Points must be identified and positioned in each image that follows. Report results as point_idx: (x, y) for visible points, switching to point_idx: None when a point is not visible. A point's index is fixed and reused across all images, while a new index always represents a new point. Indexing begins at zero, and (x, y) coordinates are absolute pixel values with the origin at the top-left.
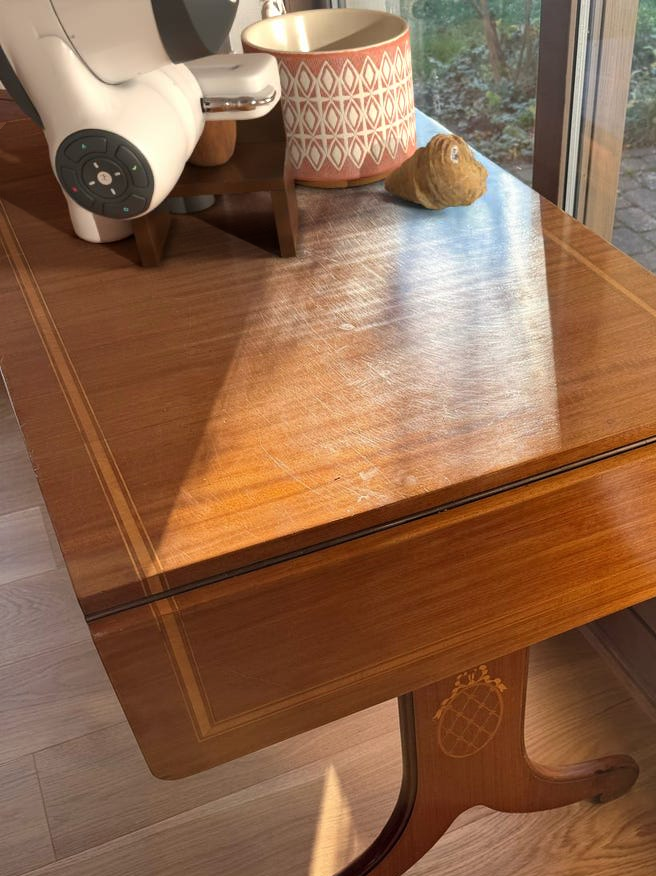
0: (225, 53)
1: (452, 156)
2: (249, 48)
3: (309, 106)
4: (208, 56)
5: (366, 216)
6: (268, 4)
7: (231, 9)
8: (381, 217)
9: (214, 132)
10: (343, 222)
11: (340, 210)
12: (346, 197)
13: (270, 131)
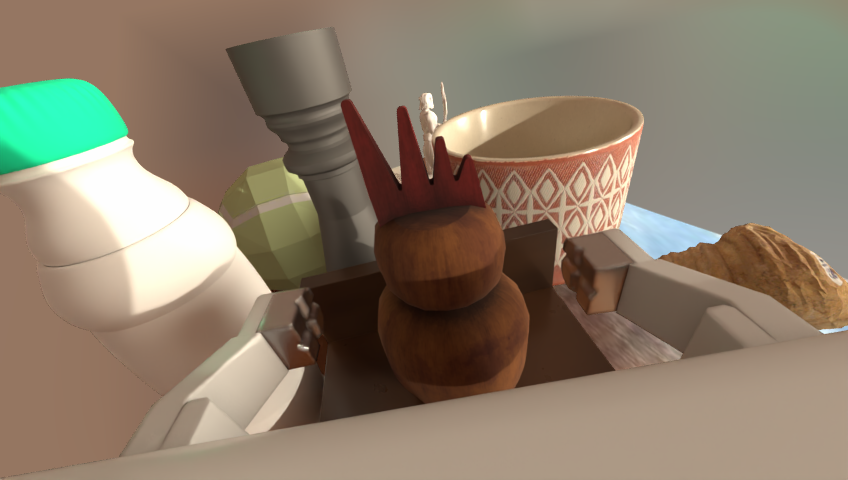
0: (610, 251)
1: (829, 274)
2: (457, 160)
3: (546, 218)
4: (784, 418)
5: (642, 345)
6: (427, 111)
7: None
8: (667, 345)
9: (509, 387)
10: (623, 366)
11: (592, 332)
12: (575, 299)
13: (530, 281)
